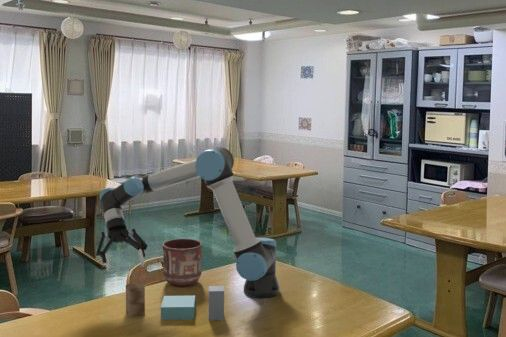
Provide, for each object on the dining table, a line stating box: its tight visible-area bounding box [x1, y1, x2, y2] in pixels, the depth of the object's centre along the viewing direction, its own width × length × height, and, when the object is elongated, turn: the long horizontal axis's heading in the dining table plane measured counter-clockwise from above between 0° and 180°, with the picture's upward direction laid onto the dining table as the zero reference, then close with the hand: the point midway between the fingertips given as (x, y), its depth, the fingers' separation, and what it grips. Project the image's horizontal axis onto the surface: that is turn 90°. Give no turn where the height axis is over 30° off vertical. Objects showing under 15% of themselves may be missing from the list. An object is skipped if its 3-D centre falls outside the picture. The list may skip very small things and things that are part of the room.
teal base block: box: [160, 295, 196, 321], centre depth 201 cm, size 12×12×5 cm
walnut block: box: [125, 282, 146, 319], centre depth 199 cm, size 6×6×11 cm
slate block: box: [208, 285, 225, 321], centre depth 197 cm, size 6×6×11 cm
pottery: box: [162, 238, 203, 288], centre depth 234 cm, size 18×18×18 cm
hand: (126, 267), depth 207 cm, fingers open, 13 cm apart
